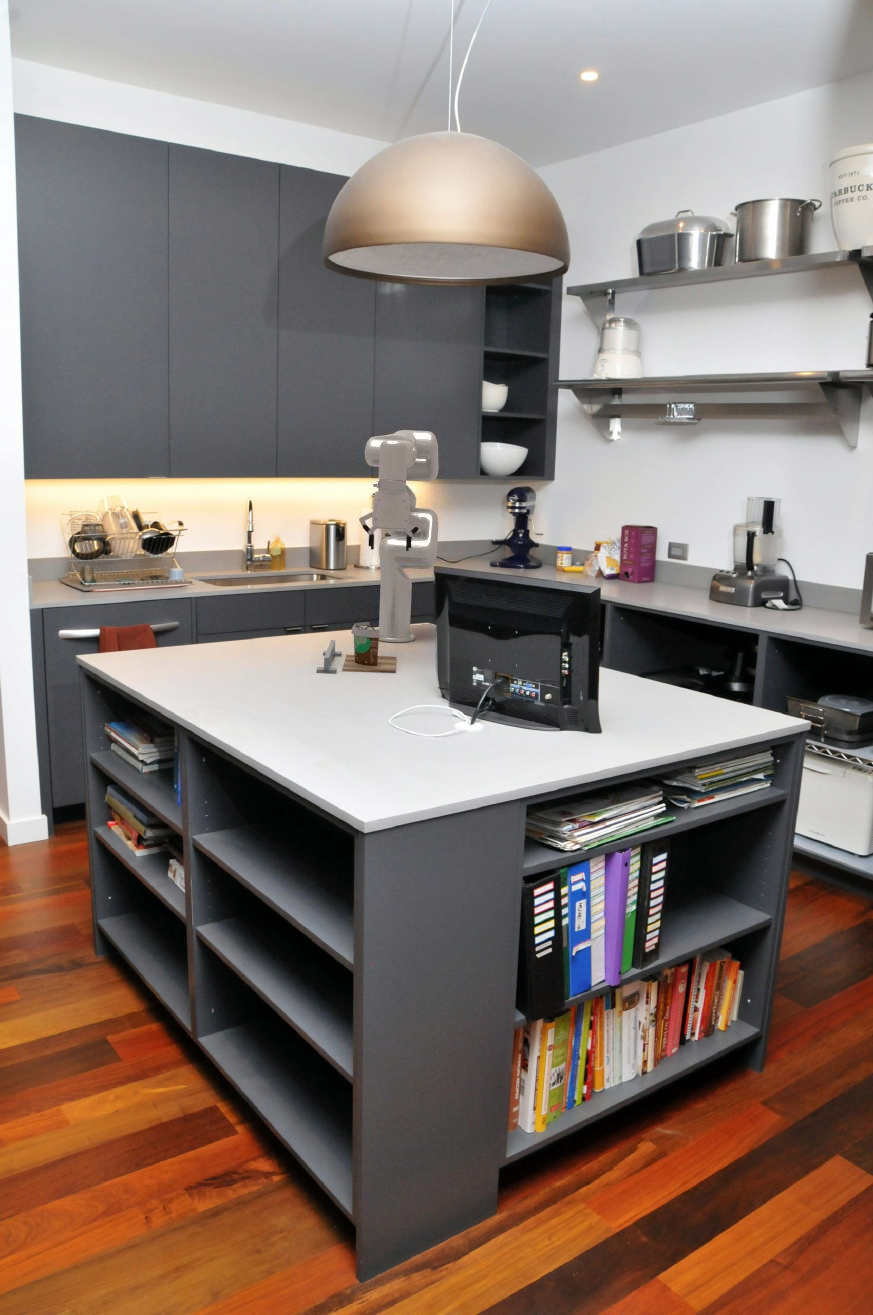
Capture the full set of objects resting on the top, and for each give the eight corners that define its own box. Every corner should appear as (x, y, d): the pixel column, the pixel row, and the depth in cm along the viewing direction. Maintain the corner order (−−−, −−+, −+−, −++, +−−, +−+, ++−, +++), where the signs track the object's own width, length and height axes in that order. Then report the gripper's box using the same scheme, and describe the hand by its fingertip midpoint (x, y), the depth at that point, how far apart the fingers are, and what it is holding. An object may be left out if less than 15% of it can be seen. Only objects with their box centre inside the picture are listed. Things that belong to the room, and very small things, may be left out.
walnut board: (346, 656, 280) (346, 654, 280) (396, 658, 281) (396, 656, 281) (342, 670, 263) (342, 668, 263) (395, 673, 263) (395, 670, 263)
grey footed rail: (323, 653, 283) (324, 639, 282) (341, 654, 283) (342, 640, 282) (316, 672, 259) (316, 657, 259) (335, 673, 260) (336, 658, 259)
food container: (346, 657, 276) (347, 621, 274) (367, 657, 278) (369, 621, 276) (355, 667, 265) (357, 630, 263) (378, 667, 266) (379, 630, 264)
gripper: (359, 486, 268) (357, 549, 271) (424, 489, 269) (421, 552, 272) (360, 484, 275) (358, 547, 279) (423, 487, 276) (421, 549, 279)
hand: (389, 549), depth 275 cm, fingers open, 9 cm apart
